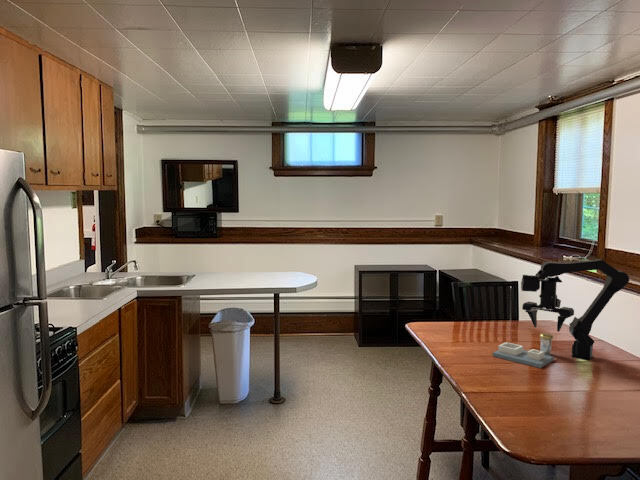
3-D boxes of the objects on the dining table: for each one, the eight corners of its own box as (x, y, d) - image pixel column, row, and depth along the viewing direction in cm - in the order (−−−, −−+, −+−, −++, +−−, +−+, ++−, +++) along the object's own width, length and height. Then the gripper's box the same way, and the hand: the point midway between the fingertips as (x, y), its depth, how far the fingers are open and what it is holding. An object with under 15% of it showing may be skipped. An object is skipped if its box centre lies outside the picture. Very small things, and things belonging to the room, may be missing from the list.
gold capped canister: (553, 353, 197) (554, 335, 197) (549, 356, 194) (550, 337, 193) (541, 351, 201) (542, 332, 200) (536, 353, 198) (537, 334, 197)
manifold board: (553, 360, 189) (553, 350, 189) (540, 368, 180) (540, 357, 180) (506, 349, 203) (507, 340, 202) (492, 356, 194) (492, 346, 193)
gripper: (579, 292, 194) (577, 330, 196) (533, 286, 208) (532, 322, 209) (569, 296, 187) (568, 335, 188) (522, 290, 200) (521, 326, 201)
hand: (546, 329), depth 197 cm, fingers open, 9 cm apart
